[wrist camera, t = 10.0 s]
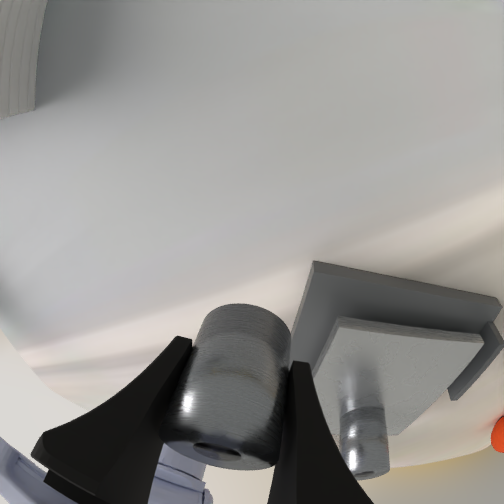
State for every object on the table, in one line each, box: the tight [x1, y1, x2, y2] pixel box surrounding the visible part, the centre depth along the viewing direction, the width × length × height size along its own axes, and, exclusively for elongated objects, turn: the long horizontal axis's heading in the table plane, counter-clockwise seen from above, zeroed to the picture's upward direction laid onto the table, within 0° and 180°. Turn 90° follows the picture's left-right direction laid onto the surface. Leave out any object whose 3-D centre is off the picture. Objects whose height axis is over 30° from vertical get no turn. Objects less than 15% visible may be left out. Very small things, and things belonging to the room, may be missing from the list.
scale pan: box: [312, 316, 484, 435], centre depth 19 cm, size 14×12×2 cm
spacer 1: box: [158, 304, 291, 470], centre depth 10 cm, size 4×4×6 cm
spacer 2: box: [339, 407, 390, 480], centre depth 18 cm, size 4×4×6 cm
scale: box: [289, 261, 504, 401], centre depth 19 cm, size 18×16×4 cm
